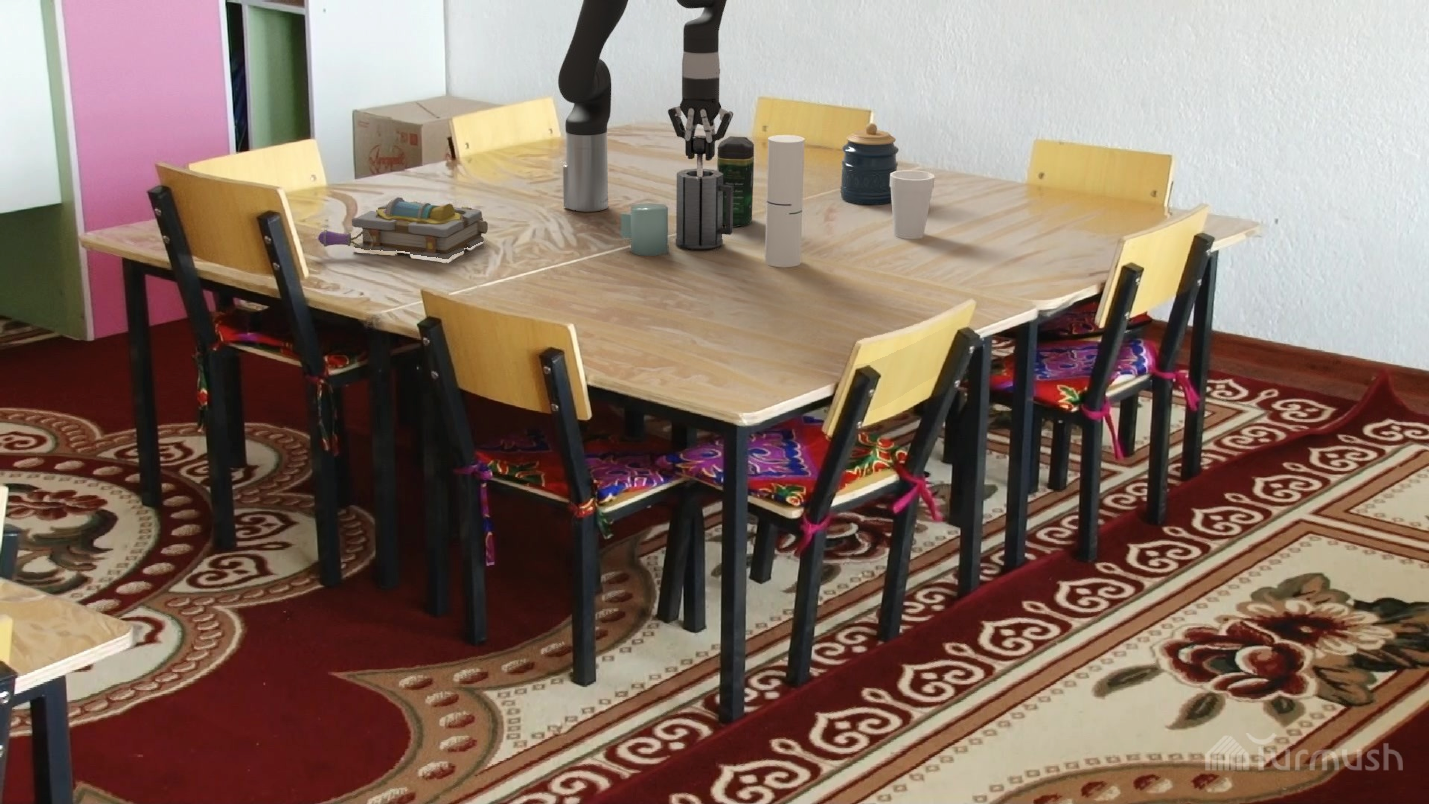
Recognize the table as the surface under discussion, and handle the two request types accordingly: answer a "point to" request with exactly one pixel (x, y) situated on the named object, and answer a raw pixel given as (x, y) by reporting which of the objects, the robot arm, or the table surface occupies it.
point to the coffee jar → (737, 176)
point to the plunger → (699, 152)
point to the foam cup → (910, 202)
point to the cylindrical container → (784, 200)
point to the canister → (868, 166)
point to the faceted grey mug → (702, 210)
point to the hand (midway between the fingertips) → (700, 158)
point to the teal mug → (646, 229)
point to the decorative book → (415, 229)
